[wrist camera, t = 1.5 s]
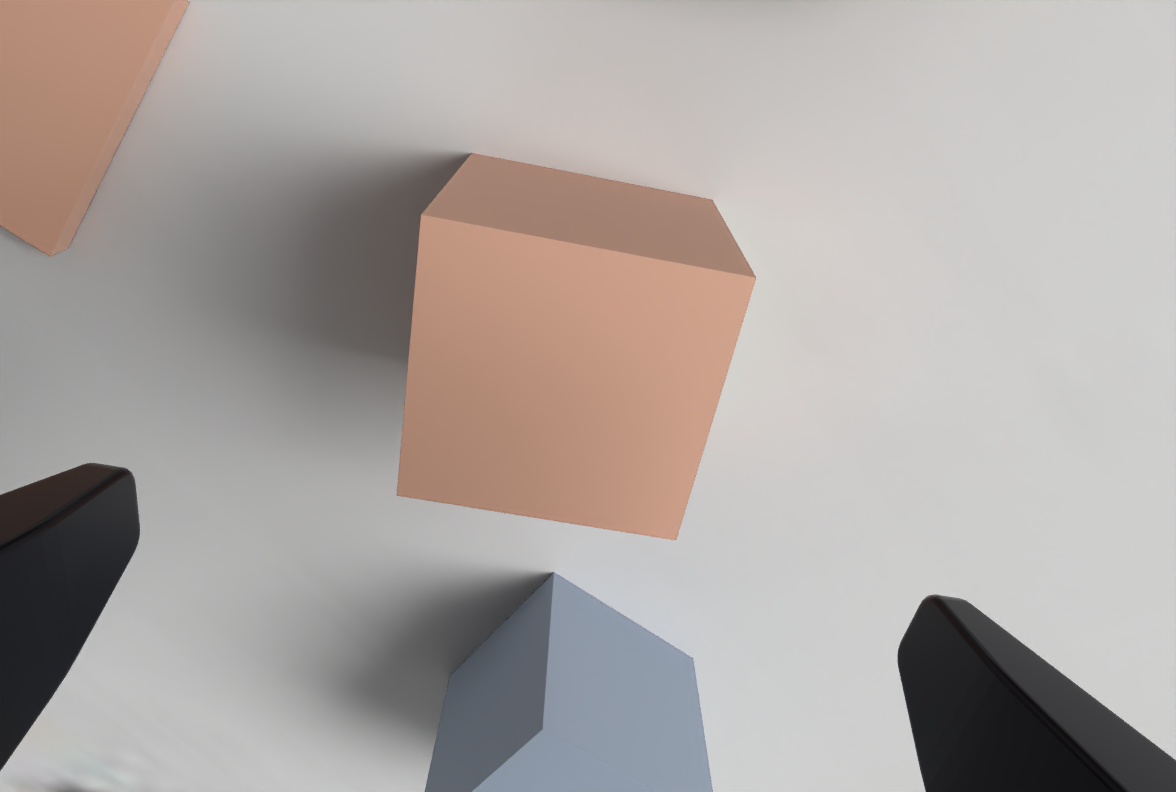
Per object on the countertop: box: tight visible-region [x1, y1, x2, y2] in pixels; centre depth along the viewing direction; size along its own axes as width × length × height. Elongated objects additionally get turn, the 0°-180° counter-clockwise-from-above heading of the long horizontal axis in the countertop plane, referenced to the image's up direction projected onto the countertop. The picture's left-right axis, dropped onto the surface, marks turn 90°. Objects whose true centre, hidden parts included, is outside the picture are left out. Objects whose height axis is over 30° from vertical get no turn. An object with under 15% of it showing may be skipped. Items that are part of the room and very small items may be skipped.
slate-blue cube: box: [425, 572, 713, 792], centre depth 20 cm, size 5×5×5 cm
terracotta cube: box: [397, 153, 756, 540], centre depth 14 cm, size 5×5×5 cm
